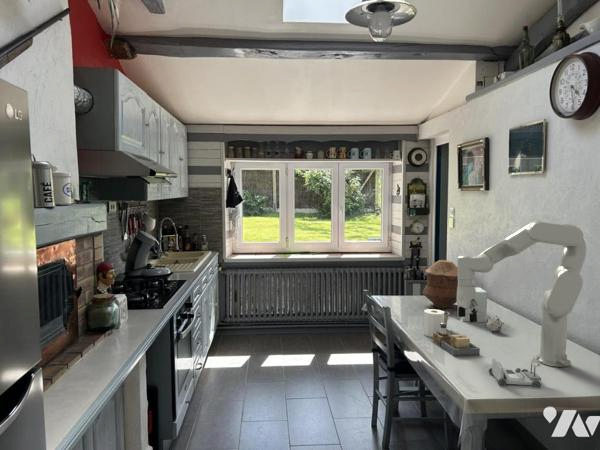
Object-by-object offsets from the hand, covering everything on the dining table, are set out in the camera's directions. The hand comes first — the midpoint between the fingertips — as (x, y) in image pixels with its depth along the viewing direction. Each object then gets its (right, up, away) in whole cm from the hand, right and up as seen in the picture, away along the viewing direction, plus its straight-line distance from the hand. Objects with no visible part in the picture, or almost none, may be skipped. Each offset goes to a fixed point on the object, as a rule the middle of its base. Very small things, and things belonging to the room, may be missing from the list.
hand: (467, 319), depth 202 cm
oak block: (-3, -14, +2) cm, 15 cm away
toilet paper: (-8, -14, +26) cm, 30 cm away
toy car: (+8, -18, -31) cm, 36 cm away
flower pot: (-1, -13, +36) cm, 38 cm away
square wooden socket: (-8, -14, +12) cm, 20 cm away
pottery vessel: (+16, -10, +83) cm, 85 cm away
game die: (+26, -13, +31) cm, 42 cm away
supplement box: (+23, -12, +55) cm, 61 cm away
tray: (-3, -15, +2) cm, 15 cm away
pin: (-7, -14, +12) cm, 20 cm away
